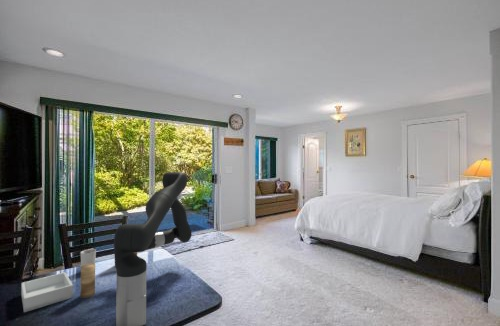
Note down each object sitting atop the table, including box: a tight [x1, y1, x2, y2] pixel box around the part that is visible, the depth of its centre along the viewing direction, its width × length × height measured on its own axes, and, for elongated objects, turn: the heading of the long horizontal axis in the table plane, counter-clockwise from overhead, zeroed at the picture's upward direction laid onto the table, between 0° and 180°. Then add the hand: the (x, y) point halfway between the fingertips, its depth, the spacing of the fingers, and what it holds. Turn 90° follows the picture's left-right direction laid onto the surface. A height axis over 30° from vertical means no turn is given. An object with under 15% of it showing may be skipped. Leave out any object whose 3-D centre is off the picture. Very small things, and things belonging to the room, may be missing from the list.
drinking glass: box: [80, 248, 97, 267], centre depth 124 cm, size 7×7×10 cm
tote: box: [20, 271, 74, 313], centre depth 100 cm, size 18×15×5 cm
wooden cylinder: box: [80, 263, 96, 299], centre depth 101 cm, size 5×5×12 cm
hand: (117, 248), depth 109 cm, fingers open, 8 cm apart
